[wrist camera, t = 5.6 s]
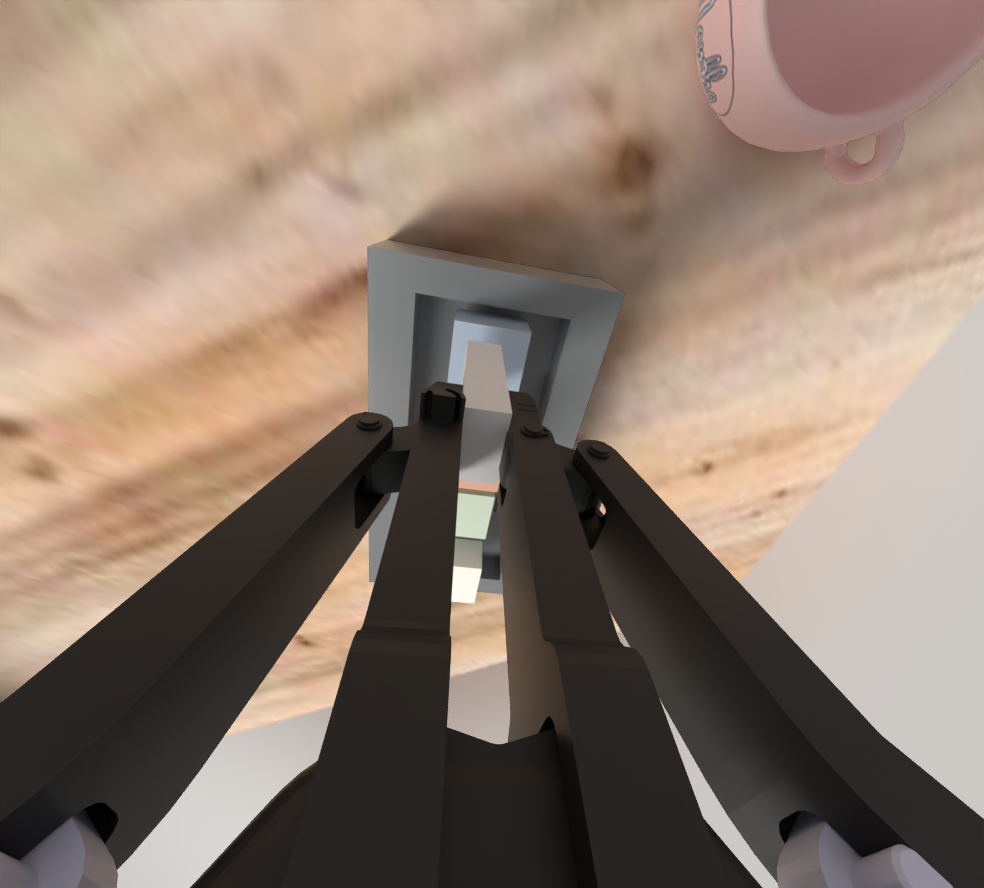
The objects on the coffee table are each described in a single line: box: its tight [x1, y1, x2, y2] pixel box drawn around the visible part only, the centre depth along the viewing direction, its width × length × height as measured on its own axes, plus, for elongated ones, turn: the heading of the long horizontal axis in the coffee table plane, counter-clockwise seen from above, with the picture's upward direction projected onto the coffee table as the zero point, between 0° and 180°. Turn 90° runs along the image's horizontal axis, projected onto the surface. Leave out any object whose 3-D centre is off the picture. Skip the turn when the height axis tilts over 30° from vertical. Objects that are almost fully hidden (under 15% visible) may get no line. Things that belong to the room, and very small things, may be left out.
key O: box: [451, 538, 482, 603], centre depth 26 cm, size 4×4×2 cm
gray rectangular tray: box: [367, 240, 625, 594], centre depth 25 cm, size 12×23×4 cm, turn 170°
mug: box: [696, 0, 984, 185], centre depth 14 cm, size 12×10×6 cm
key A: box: [447, 308, 532, 392], centre depth 19 cm, size 4×4×2 cm
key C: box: [456, 488, 495, 539], centre depth 24 cm, size 4×4×2 cm
